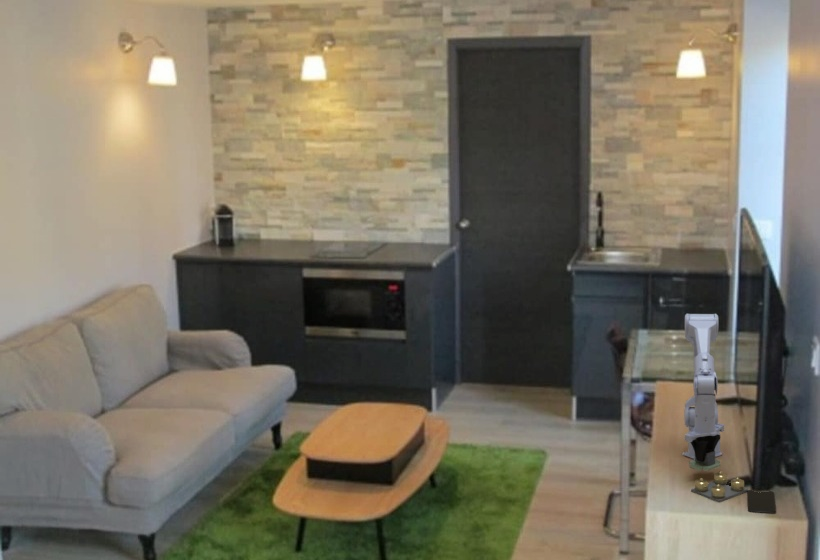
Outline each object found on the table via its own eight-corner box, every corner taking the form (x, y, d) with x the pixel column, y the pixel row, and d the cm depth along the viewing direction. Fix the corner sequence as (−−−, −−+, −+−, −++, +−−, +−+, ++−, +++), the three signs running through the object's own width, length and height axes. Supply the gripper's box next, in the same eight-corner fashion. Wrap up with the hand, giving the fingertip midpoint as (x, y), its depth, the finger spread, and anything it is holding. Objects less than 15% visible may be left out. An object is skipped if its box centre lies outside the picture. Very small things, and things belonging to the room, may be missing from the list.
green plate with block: (705, 458, 325) (706, 442, 324) (724, 465, 319) (724, 449, 318) (684, 465, 320) (685, 450, 319) (703, 472, 314) (703, 456, 313)
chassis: (719, 480, 317) (720, 467, 316) (747, 491, 309) (748, 478, 308) (691, 491, 310) (691, 478, 310) (718, 502, 302) (719, 488, 301)
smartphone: (746, 492, 310) (747, 513, 295) (746, 489, 309) (747, 510, 295) (774, 493, 307) (776, 515, 293) (774, 491, 307) (776, 512, 293)
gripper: (698, 424, 309) (697, 469, 312) (732, 413, 317) (731, 457, 320) (679, 418, 315) (679, 462, 318) (713, 407, 323) (713, 450, 326)
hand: (704, 459), depth 319 cm, fingers closed on green plate with block, 3 cm apart
